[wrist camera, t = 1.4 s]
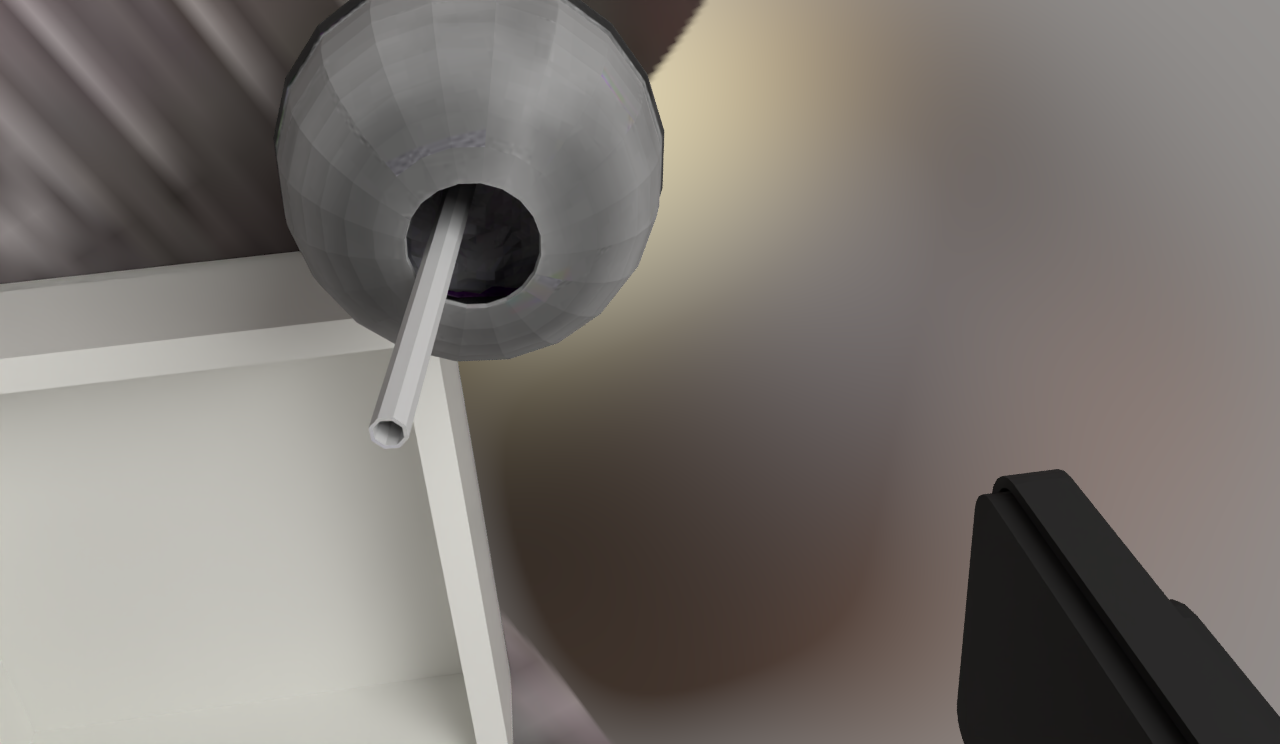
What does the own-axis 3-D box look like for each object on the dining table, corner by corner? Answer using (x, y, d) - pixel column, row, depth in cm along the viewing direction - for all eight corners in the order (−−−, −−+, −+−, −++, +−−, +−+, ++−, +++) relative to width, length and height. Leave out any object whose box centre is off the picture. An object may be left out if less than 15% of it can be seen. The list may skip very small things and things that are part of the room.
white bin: (-190, 304, 33) (-291, 392, 29) (436, 236, 34) (430, 309, 30) (21, 742, 42) (-32, 859, 37) (510, 674, 43) (514, 780, 39)
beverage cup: (650, 81, 33) (843, 478, 15) (429, 196, 34) (378, 694, 16) (528, -170, 29) (602, -21, 12) (284, -35, 30) (22, 289, 13)
